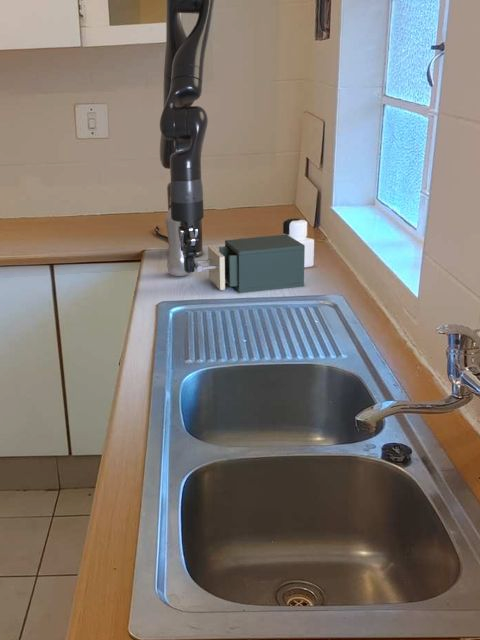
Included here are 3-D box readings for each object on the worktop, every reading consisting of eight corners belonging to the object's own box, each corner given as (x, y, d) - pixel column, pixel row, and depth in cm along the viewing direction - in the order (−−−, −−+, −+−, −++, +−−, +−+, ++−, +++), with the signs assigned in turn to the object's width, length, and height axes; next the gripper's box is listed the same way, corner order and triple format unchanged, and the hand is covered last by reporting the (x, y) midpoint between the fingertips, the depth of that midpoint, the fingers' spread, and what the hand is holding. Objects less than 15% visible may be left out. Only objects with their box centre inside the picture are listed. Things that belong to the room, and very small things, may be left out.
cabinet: (239, 292, 176) (238, 251, 173) (225, 278, 188) (224, 240, 184) (303, 286, 178) (304, 245, 175) (286, 272, 190) (286, 234, 186)
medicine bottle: (275, 265, 197) (275, 219, 193) (298, 260, 200) (299, 215, 195) (290, 270, 191) (291, 223, 187) (314, 266, 194) (315, 220, 189)
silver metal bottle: (177, 270, 198) (174, 193, 190) (198, 273, 194) (195, 195, 186) (162, 276, 194) (158, 198, 186) (183, 279, 190) (179, 199, 182)
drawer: (199, 292, 175) (198, 259, 172) (189, 279, 186) (188, 248, 183) (280, 283, 178) (280, 251, 175) (265, 271, 188) (265, 240, 185)
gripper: (209, 201, 167) (211, 277, 174) (196, 192, 179) (199, 263, 186) (175, 204, 166) (179, 280, 173) (165, 195, 178) (169, 266, 185)
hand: (189, 271), depth 179 cm, fingers closed
